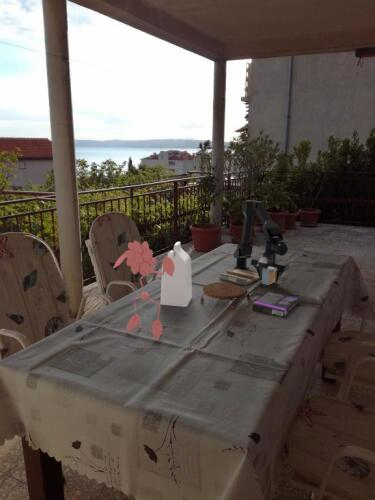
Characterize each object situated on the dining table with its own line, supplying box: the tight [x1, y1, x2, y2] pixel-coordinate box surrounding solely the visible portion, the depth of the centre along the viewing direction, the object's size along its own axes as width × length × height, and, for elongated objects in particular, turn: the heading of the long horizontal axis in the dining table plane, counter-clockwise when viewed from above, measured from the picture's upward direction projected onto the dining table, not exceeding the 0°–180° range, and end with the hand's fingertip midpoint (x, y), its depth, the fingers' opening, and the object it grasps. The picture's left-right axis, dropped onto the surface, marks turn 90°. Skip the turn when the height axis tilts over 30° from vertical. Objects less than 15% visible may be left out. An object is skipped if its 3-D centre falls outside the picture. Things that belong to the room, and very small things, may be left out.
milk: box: [159, 241, 193, 308], centre depth 171 cm, size 12×12×26 cm
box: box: [251, 290, 300, 317], centre depth 170 cm, size 14×4×20 cm
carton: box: [261, 266, 276, 286], centre depth 198 cm, size 4×6×8 cm, turn 141°
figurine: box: [113, 240, 175, 350], centre depth 133 cm, size 15×26×35 cm, turn 60°
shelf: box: [219, 268, 263, 286], centre depth 207 cm, size 18×16×3 cm
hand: (268, 280), depth 199 cm, fingers open, 9 cm apart
